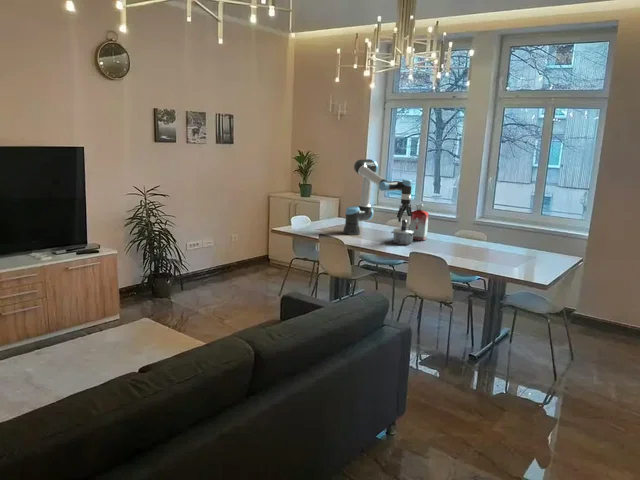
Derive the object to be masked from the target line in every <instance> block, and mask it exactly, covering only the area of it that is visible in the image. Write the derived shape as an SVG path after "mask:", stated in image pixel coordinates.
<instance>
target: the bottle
mask: <svg viewBox="0 0 640 480" xmlns="http://www.w3.org/2000/svg"><path fill="white" fill-rule="evenodd" d="M415 207H416V209H415V210H413V211H412V216H411V217H410V224H408V229H411V230H413V231H414V233H413V234H414V235H416V236H413V240H414V241H415V240H416V241H421V242H423V241H425V240H427V239H428V238H427V236H428V228H429V226H428V225H429V215H430V214H429V212H427V211H425V210H423V209H424V204H423V203H416V205H415Z"/></svg>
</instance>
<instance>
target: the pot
mask: <svg viewBox="0 0 640 480" xmlns="http://www.w3.org/2000/svg"><path fill="white" fill-rule="evenodd" d="M390 232H391V234H393V237H392V238H393V240H392V242H393V243H394V244H397V245H404V246H405V245H412V244H413V240H414V239H413V236H416V235H414V234H413V233H411V234H402V233H396V232H394V231H393V230H392V231H390Z"/></svg>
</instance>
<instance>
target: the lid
mask: <svg viewBox="0 0 640 480" xmlns="http://www.w3.org/2000/svg"><path fill="white" fill-rule="evenodd" d="M407 225H408V224H407V219H402V224H401V226H400V228H393V230H392V231H394V232H396V233H402V234H411V233H414V231H413V230H411V229H409V228H407Z"/></svg>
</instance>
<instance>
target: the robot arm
mask: <svg viewBox="0 0 640 480" xmlns="http://www.w3.org/2000/svg"><path fill="white" fill-rule="evenodd" d="M353 169H354V172H355V173H357V174H358V175H359V176H362V183H361V192H360V201H359V204H358V206H357V205H356V206H355V205H354V206H348V207H346V209H345V221H344V222H345V223H344V224H345V225H344V227H343V230H342V234H344V235H351V236H359V235H360V234H361V230H360V225H359V222H362V221H364V222H366V221H371V219H373V216H374V209H373V207H372V205H371V196H372V187H373V184H375V186H377V187H378V188H379V190H380V191H381V192H389V191H390V192H391V191H392V192H393V191H401V197H400V198H401V199H400V205H399V209H398V211H397V214H396V218H397V219H398V220H397V226H398V227H401V226H402V220H403V219H402V217H403V215H404V212H406V214H407V216H406V220H407V225H409V224H410V217H411V216H412V204H411V198H412V186H413V185H412V183H413V181H412V180H411V179H402V181H399V180H392V181H390V180H389V181H388V180H386V179H385V178H384V177H382V176H380V175H379V174H377V171H378V170H379V166H378V162H377V161H376V160H374V159H365V158H364V159H358V160H356V161H355V162H354V164H353ZM401 204H402V205H401Z"/></svg>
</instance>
